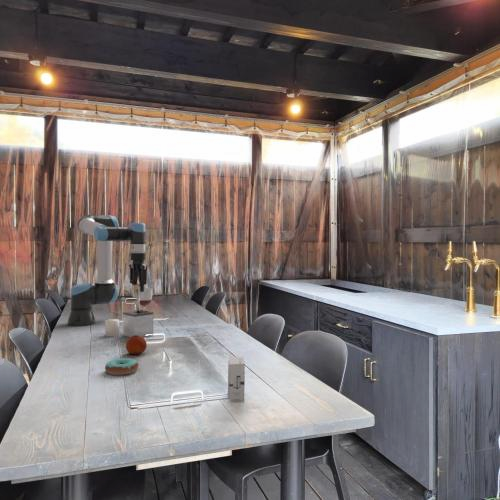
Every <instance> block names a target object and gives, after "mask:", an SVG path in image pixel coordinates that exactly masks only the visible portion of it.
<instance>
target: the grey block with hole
mask: <svg viewBox="0 0 500 500" xmlns="http://www.w3.org/2000/svg"><path fill="white" fill-rule="evenodd" d="M146 334H153V335H154V311H150V310H145V311H144V310H143V309H140V313H137V310H131V311H123V312H122V336H124V337H127V338H130V337H132V336H134V335H138V336H140V337H142V338H145V337H144V336H145V335H146Z"/></svg>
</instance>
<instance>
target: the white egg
mask: <svg viewBox="0 0 500 500" xmlns="http://www.w3.org/2000/svg"><path fill="white" fill-rule="evenodd" d="M104 321H105V323H104V326H105V327H104V332H105V334H104V336H105V337H108V338H113V337H114V338H115V337H119V336H120V319H119V318H108V319H105V320H104Z"/></svg>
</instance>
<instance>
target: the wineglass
mask: <svg viewBox="0 0 500 500" xmlns="http://www.w3.org/2000/svg"><path fill="white" fill-rule="evenodd" d="M153 290H154V289H153V288H152V287H151V288H150V287H149V288H148V287H147V288H146V287H144V298H140V305H141V306H142V307H143V309H142V310H144V311H146V306H148V305H149V304H150V303H151V302H152V300H153V293H154V292H153ZM135 298H136V300H137V297H135Z"/></svg>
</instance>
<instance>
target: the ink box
mask: <svg viewBox="0 0 500 500" xmlns="http://www.w3.org/2000/svg"><path fill="white" fill-rule="evenodd" d="M227 363H228V365H227V370H228V371H227V375H228V376H227V395H228V396H227V397H228V401H229V403H239V402H242V403H243V402H245V389H246V388H245V385H246V384H245V381H246V380H245V374H246V372H245V368H246V365H245V360H244V356H228V362H227Z"/></svg>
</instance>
